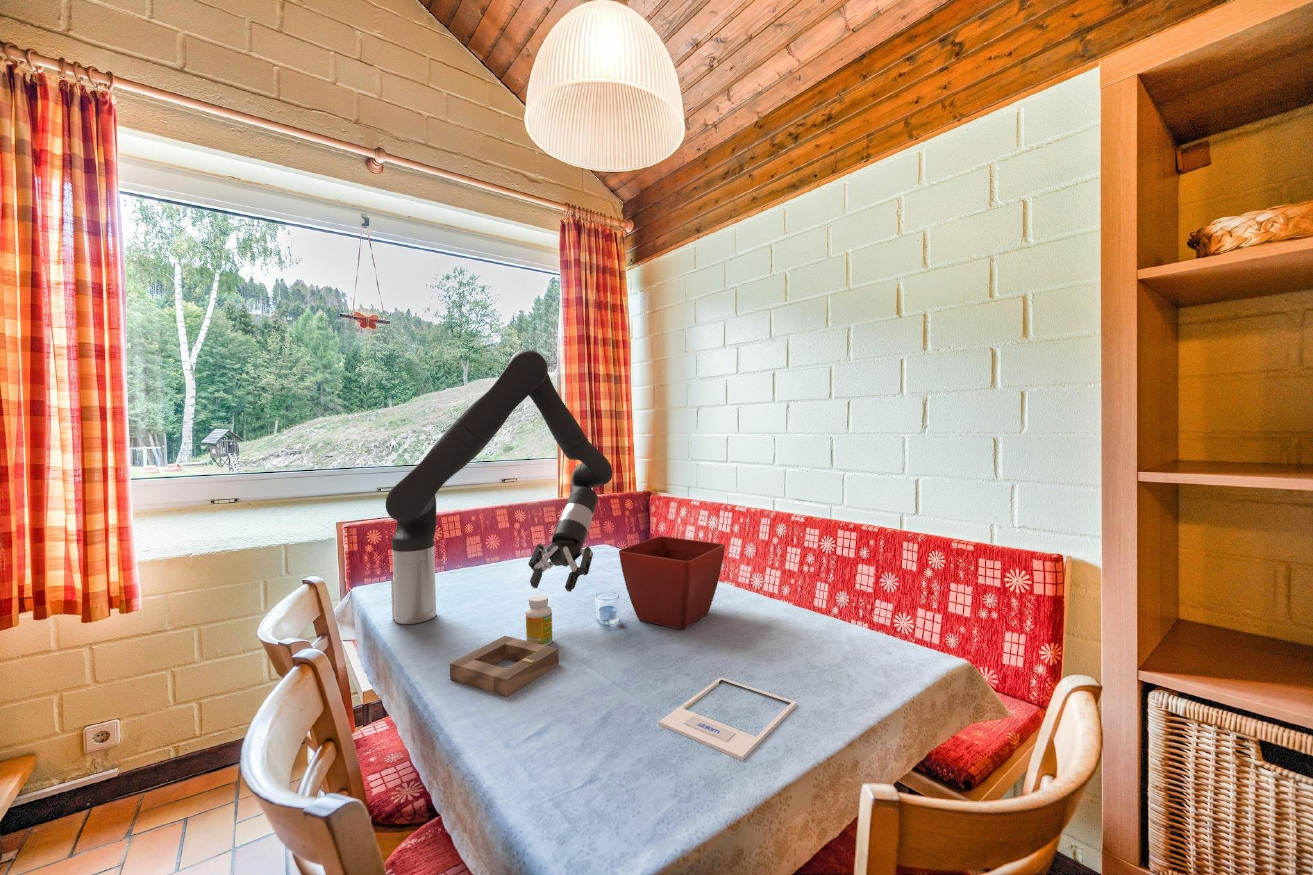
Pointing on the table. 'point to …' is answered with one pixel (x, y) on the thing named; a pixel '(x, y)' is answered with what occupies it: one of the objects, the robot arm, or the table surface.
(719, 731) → the photo frame
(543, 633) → the supplement bottle
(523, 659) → the socket block
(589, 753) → the table surface
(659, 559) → the plant pot
